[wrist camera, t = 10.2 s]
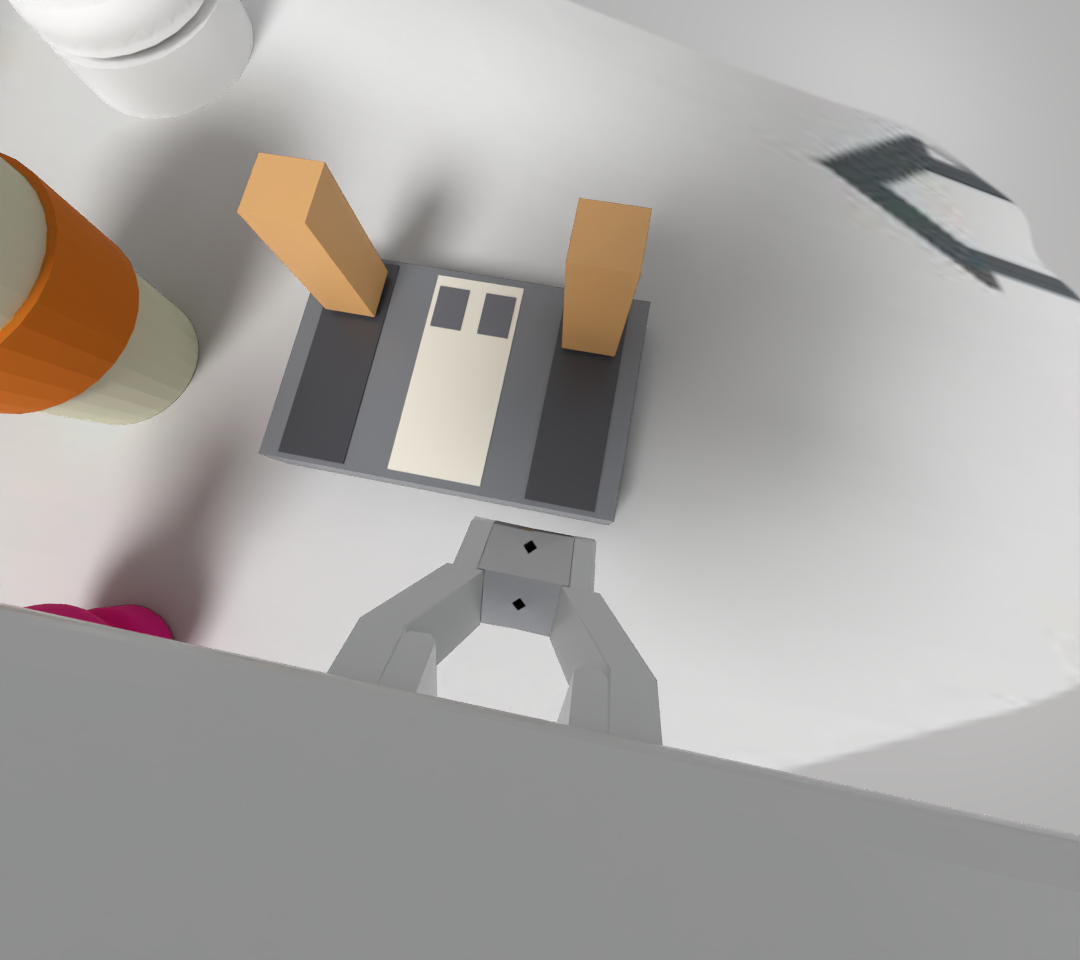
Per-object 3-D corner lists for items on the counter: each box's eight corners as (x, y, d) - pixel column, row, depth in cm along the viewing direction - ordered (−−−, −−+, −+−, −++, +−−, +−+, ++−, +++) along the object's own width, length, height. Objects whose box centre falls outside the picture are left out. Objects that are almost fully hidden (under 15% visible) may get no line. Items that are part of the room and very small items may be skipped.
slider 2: (614, 356, 23) (640, 273, 17) (561, 347, 24) (565, 262, 17) (623, 308, 24) (651, 208, 17) (571, 300, 24) (579, 197, 17)
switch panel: (607, 525, 25) (614, 521, 22) (286, 462, 26) (256, 452, 23) (641, 325, 27) (650, 300, 24) (343, 276, 28) (322, 248, 25)
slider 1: (374, 317, 24) (304, 222, 17) (325, 309, 24) (236, 212, 18) (387, 271, 25) (324, 161, 18) (339, 263, 25) (258, 152, 18)
